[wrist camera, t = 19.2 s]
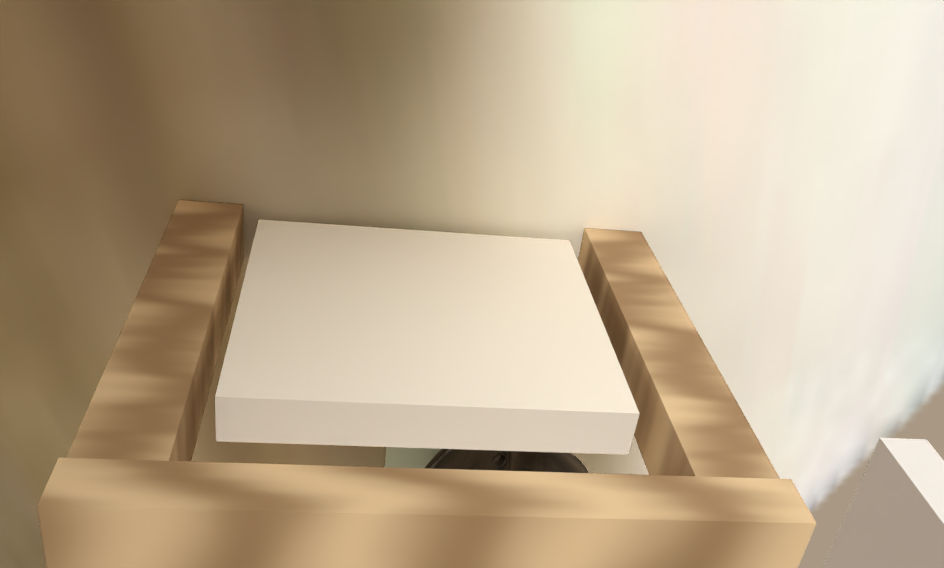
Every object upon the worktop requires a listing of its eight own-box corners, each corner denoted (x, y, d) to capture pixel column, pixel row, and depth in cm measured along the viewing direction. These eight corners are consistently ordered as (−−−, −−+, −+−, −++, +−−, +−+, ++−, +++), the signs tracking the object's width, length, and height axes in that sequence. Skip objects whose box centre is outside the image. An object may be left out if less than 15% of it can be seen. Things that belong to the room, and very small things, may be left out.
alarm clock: (435, 513, 54) (457, 778, 40) (368, 468, 52) (367, 731, 38) (573, 405, 51) (648, 651, 37) (508, 351, 48) (563, 592, 35)
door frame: (181, 263, 45) (52, 605, 27) (178, 190, 43) (36, 506, 25) (627, 290, 48) (779, 611, 30) (643, 223, 46) (816, 523, 28)
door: (258, 256, 45) (216, 441, 32) (258, 219, 44) (215, 396, 32) (562, 274, 47) (628, 454, 35) (569, 240, 46) (639, 413, 34)
